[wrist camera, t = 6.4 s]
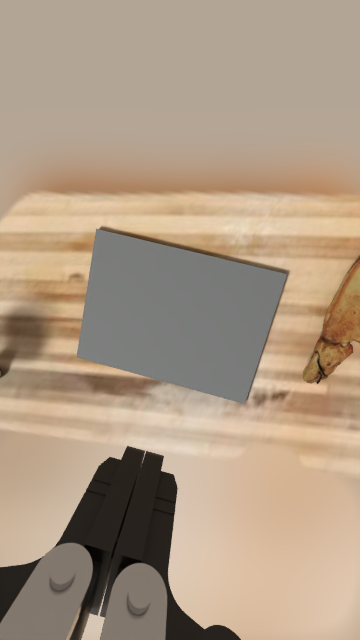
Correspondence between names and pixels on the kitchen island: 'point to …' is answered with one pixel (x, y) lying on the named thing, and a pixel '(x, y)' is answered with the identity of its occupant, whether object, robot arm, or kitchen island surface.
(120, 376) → the kitchen island surface
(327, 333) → the crab claw
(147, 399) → the kitchen island surface
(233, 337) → the mat
